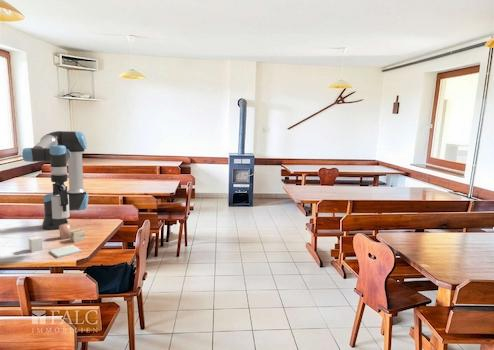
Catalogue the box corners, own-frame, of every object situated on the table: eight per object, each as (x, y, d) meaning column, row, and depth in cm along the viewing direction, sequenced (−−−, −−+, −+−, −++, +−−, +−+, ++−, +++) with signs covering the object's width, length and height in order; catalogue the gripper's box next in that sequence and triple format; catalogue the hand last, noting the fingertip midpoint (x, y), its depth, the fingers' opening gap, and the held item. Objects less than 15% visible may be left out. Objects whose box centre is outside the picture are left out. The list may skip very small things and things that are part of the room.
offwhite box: (29, 250, 176) (28, 237, 175) (39, 247, 180) (38, 235, 179) (32, 252, 173) (31, 240, 172) (42, 250, 177) (41, 238, 176)
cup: (61, 219, 169) (60, 197, 167) (48, 218, 170) (47, 196, 169) (73, 215, 177) (72, 194, 175) (60, 214, 178) (59, 193, 177)
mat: (49, 251, 174) (49, 250, 174) (72, 246, 183) (72, 244, 183) (57, 258, 167) (57, 256, 166) (81, 251, 176) (81, 250, 176)
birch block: (70, 240, 193) (69, 230, 192) (80, 238, 197) (80, 228, 196) (74, 243, 189) (74, 233, 188) (84, 240, 193) (84, 231, 192)
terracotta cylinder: (58, 237, 196) (57, 225, 195) (68, 235, 201) (67, 222, 200) (62, 240, 193) (61, 227, 192) (72, 237, 198) (72, 224, 196)
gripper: (44, 172, 175) (46, 213, 177) (58, 177, 161) (60, 220, 164) (59, 171, 180) (61, 211, 183) (74, 175, 167) (76, 218, 170)
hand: (61, 215), depth 173 cm, fingers closed on cup, 8 cm apart
